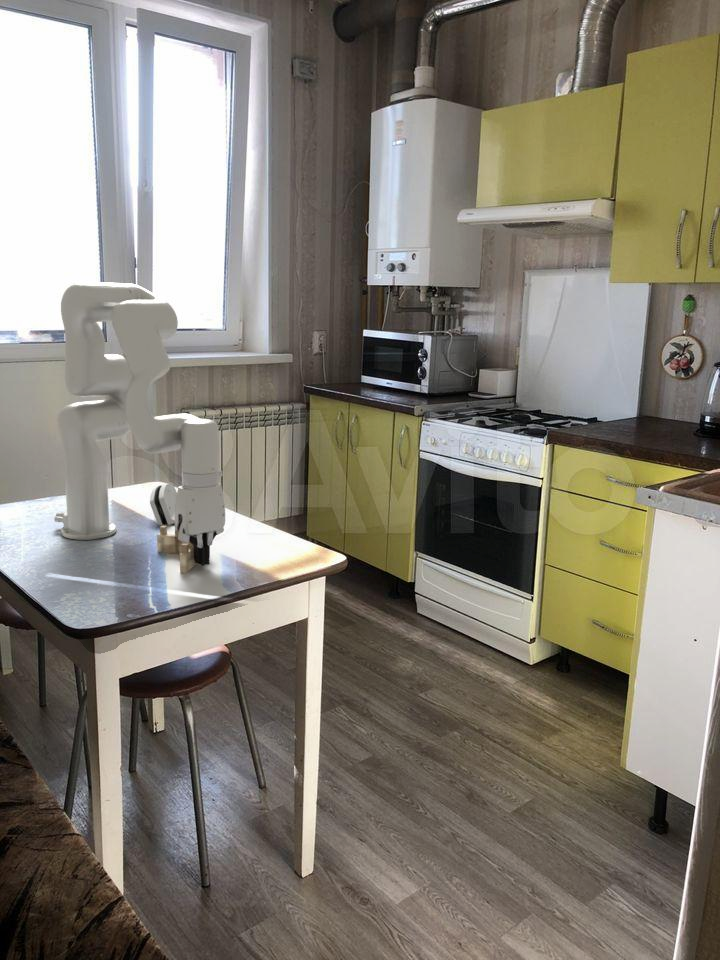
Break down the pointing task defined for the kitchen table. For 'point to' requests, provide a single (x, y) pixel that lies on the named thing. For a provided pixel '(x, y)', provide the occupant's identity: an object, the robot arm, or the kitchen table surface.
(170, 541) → the fence fixed
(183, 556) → the fence flap
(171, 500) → the black-banded white body
